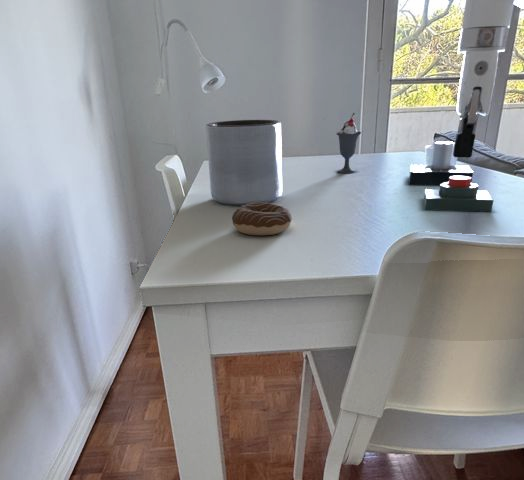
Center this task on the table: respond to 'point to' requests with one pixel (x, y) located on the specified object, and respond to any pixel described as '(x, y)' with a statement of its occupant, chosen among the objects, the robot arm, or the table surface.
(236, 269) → the table surface
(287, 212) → the donut
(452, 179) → the button
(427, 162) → the candle
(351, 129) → the sundae
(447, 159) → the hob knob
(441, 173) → the block
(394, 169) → the table surface
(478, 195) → the box
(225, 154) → the planter
